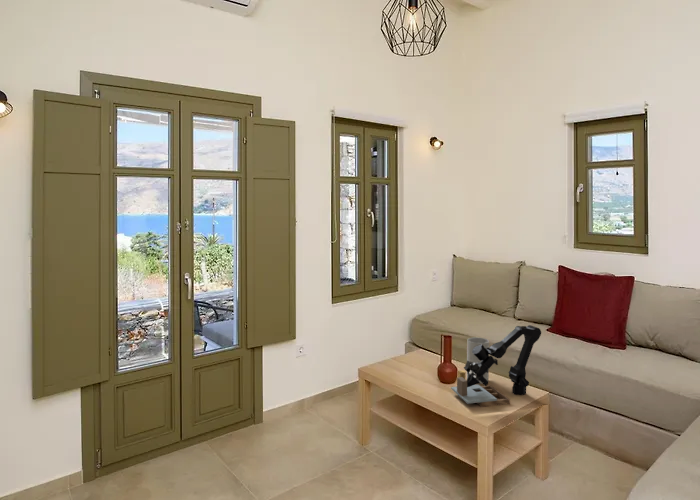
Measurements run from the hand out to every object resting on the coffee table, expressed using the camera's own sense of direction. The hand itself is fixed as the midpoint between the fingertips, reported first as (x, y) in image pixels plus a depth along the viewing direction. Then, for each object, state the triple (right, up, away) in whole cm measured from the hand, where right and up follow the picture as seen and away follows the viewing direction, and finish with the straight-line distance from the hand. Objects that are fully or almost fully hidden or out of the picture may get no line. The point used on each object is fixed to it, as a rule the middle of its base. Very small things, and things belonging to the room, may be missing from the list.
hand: (465, 387), depth 254 cm
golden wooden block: (+3, -6, +20) cm, 21 cm away
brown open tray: (+12, -8, +3) cm, 15 cm away
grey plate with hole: (+5, -4, +1) cm, 7 cm away
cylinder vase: (+15, -5, +30) cm, 34 cm away
